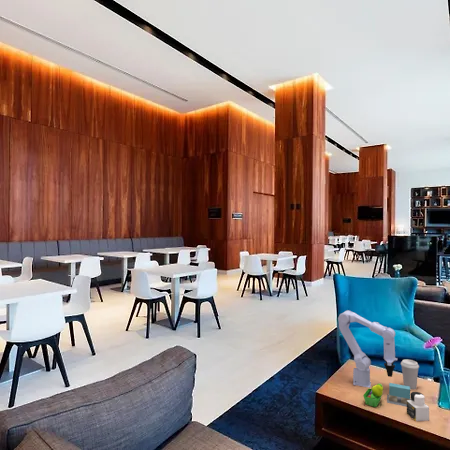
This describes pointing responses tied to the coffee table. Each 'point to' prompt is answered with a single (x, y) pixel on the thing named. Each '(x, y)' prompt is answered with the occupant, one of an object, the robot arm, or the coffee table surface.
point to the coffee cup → (410, 373)
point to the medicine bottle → (417, 407)
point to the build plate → (396, 402)
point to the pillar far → (404, 400)
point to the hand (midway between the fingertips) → (389, 373)
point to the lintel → (399, 390)
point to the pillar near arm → (392, 398)
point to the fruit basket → (373, 395)
